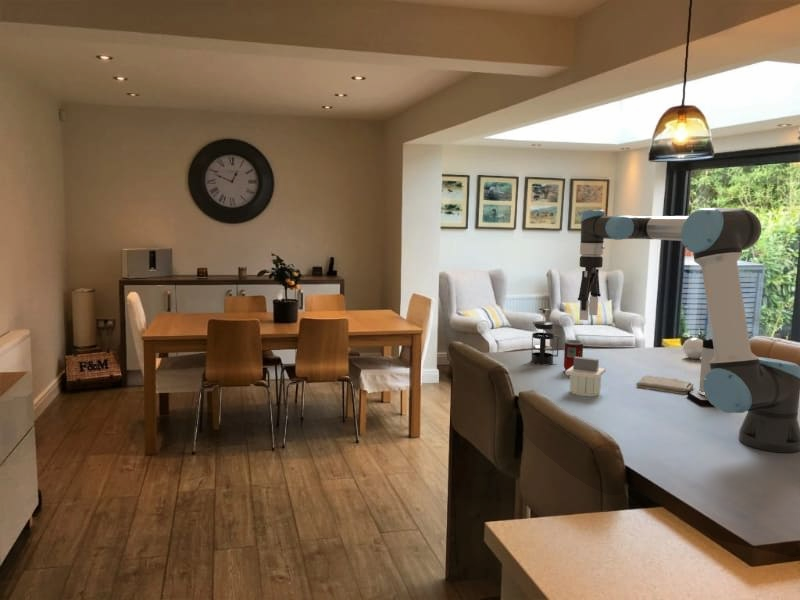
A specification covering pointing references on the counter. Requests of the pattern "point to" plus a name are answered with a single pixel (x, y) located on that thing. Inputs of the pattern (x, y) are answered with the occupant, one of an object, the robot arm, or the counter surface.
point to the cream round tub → (585, 385)
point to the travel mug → (706, 360)
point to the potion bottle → (693, 348)
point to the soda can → (572, 352)
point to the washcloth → (665, 384)
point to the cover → (585, 368)
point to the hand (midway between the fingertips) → (588, 317)
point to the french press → (543, 342)
